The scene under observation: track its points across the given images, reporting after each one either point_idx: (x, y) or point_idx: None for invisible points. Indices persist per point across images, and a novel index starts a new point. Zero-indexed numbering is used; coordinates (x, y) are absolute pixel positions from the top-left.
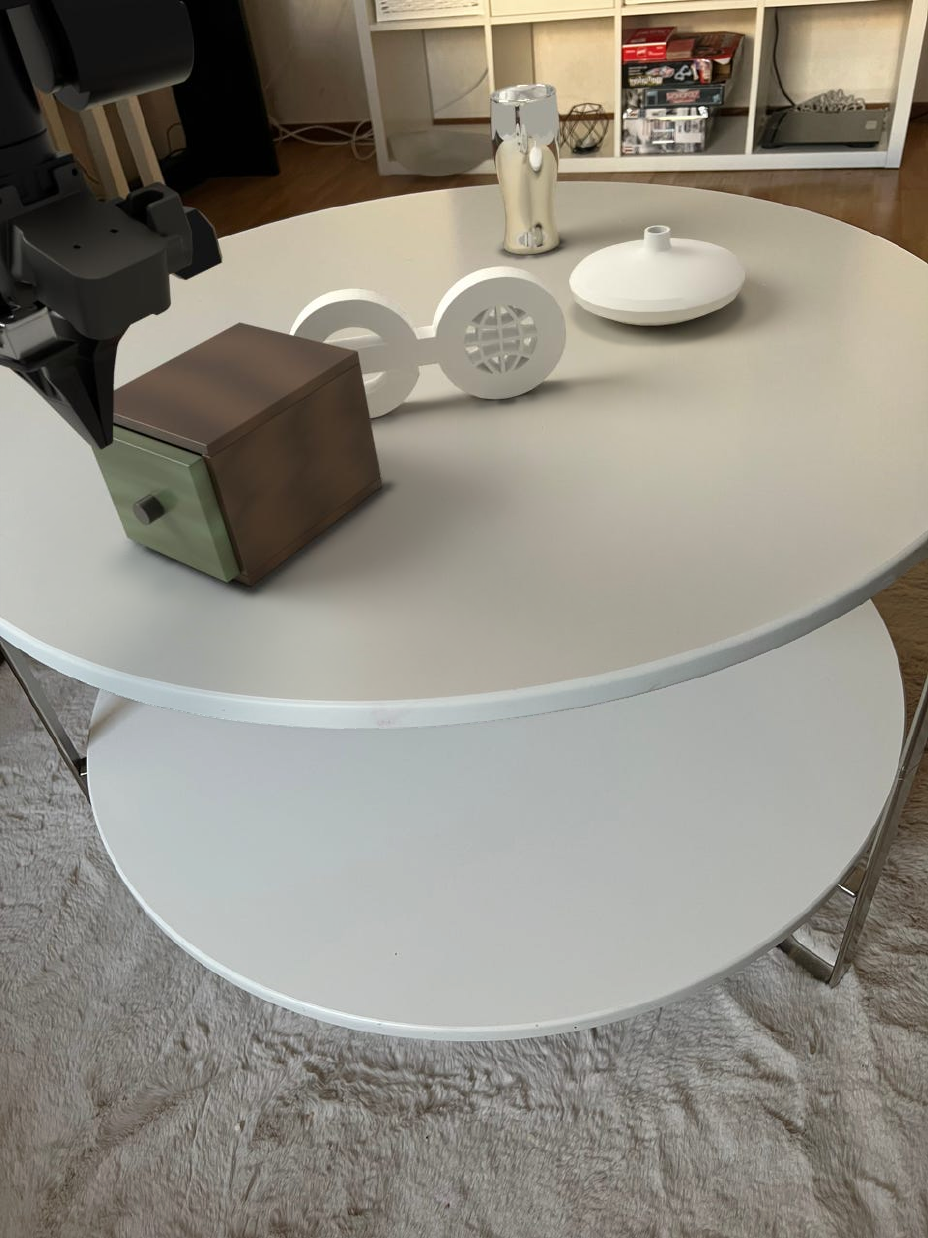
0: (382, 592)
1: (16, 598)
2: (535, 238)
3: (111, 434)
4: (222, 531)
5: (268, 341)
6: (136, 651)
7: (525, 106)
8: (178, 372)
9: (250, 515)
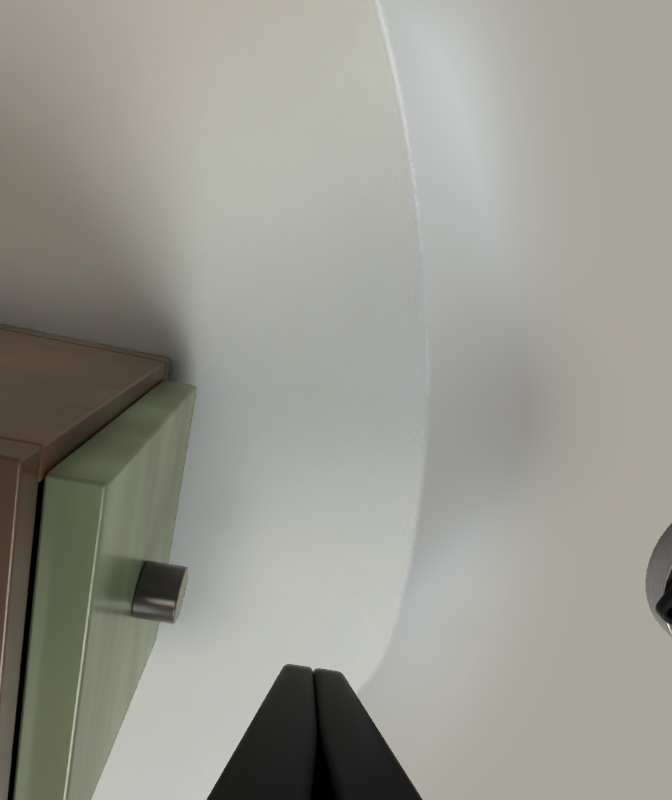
0: (85, 88)
1: None
2: None
3: (285, 683)
4: (143, 407)
5: None
6: (380, 444)
7: None
8: None
9: (71, 375)
